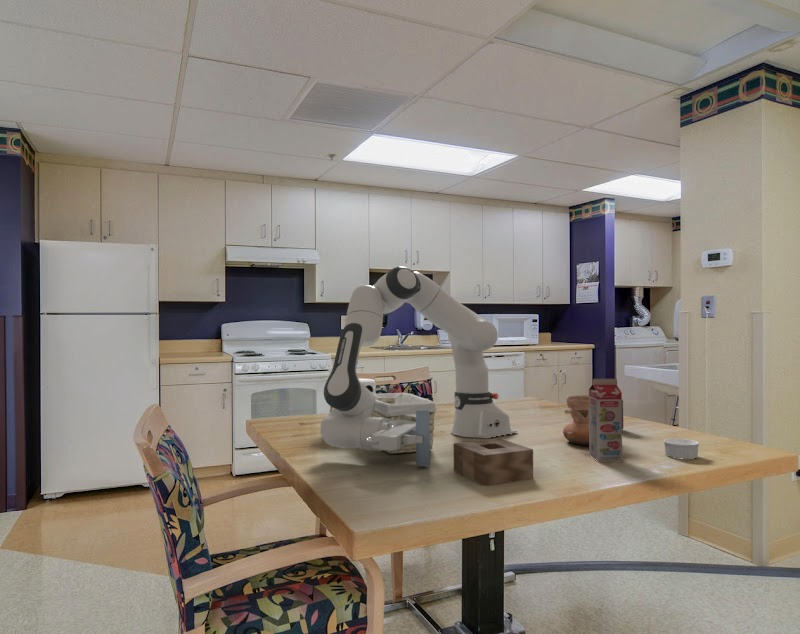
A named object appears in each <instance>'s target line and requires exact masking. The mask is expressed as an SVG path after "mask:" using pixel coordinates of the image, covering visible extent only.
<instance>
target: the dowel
mask: <svg viewBox="0 0 800 634" xmlns="http://www.w3.org/2000/svg"><path fill="white" fill-rule="evenodd" d="M416 435H423V436H424V442H422V443H416V452H415V457H416V459H415V460H416V463H415V464H416V465H417V466H419V467H428V466H430V465H431V450H430V439H431V438H430V410H427V409H418V410H416Z"/></svg>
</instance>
